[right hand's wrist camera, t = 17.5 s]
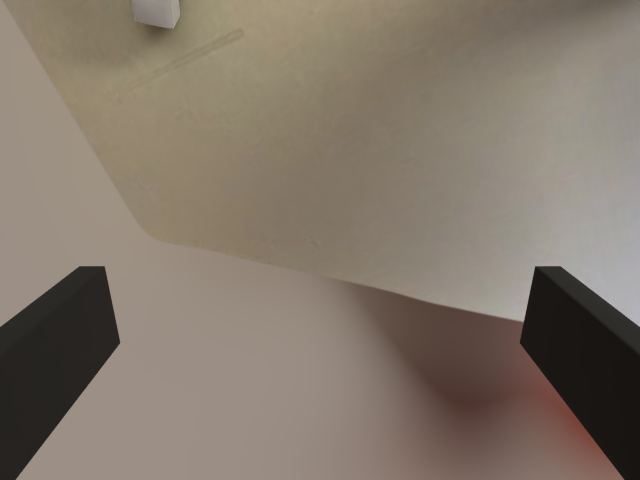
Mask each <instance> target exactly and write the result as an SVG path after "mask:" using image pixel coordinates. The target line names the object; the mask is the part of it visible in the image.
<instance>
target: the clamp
mask: <svg viewBox="0 0 640 480" xmlns="http://www.w3.org/2000/svg"><path fill="white" fill-rule="evenodd" d="M131 5H132V10H133V16H134V21H135V22H139V23H144V24H149V25H154V26H159V27H164V28H169V29H172V28H174V27H175V25H176V23H177V21H178V20H179V18H180V7H179V0H131Z"/></svg>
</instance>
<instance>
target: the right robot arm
mask: <svg viewBox="0 0 640 480" xmlns="http://www.w3.org/2000/svg"><path fill="white" fill-rule="evenodd" d="M119 344H120V339H119V334H118V329H117V325H116V320H115V315H114V310H113V305H112V300H111V295H110V290H109V286H108V281H107V276H106V271H105V267H104V266H80V267H78V268H77V269H76V270H74V271H73V272H72V273H70V274H69V275H68V276H66V277H65V278H64V279H62V280H61V281H60V282H59V283H57V284H56V285H55V286H53V287H52V288H51V289H49V290H48V291H47V292H45V293H44V294H43V295H42V296H40V297H39V298H38V299H36V300H35V301H34V302H32V303H31V304H30V305H29V306H27V307H26V308H25V309H23V310H22V311H21V312H20V313H18V314H17V315H15V316H14V317H13V318H12V319H10V320H9V321H8V322H6V323H5V324H4V325H3V326H1V327H0V480H16V478H17V477H18V476H19V474H20V473H21V472H22V471H23V469H24V468H25V467H26V465H27V464H28V463H29V461H30V460H31V459H32V457H33V456H34V455H35V454H36V452H37V451H38V450H39V448H40V447H41V446H42V444H43V443H44V442H45V440H46V439H47V438H48V437H49V435H50V434H51V433H52V431H53V430H54V429H55V427H56V426H57V425H58V424H59V422H60V421H61V420H62V418H63V417H64V416H65V414H66V413H67V412H68V410H69V409H70V408H71V407H72V405H73V404H74V403H75V401H76V400H77V399H78V397H79V396H80V395H81V393H82V392H83V391H84V390H85V388H86V387H87V386H88V384H89V383H90V382H91V380H92V379H93V378H94V377H95V375H96V374H97V373H98V371H99V370H100V369H101V367H102V366H103V365H104V363H105V362H106V361H107V360H108V358H109V357H110V356H111V354H112V353H113V352H114V350H115V349H116V348H117V346H118V345H119ZM520 344H521V345H522V346H523V348H524V349H525V350H526V352H527V353H528V354H529V356H530V357H531V358H532V360H533V361H534V362H535V363H536V365H537V366H538V367H539V369H540V370H541V371H542V373H543V374H544V375H545V377H546V378H547V379H548V380H549V382H550V383H551V384H552V386H553V387H554V388H555V390H556V391H557V392H558V393H559V395H560V396H561V397H562V399H563V400H564V401H565V403H566V404H567V405H568V406H569V408H570V409H571V410H572V412H573V413H574V414H575V416H576V417H577V418H578V420H579V421H580V422H581V424H582V425H583V426H584V427H585V429H586V430H587V431H588V433H589V434H590V435H591V437H592V438H593V439H594V440H595V442H596V443H597V444H598V446H599V447H600V448H601V450H602V451H603V452H604V454H605V455H606V456H607V457H608V459H609V460H610V461H611V463H612V464H613V465H614V467H615V468H616V469H617V471H618V472H619V473H620V474H621V476H622V477H623V478H624V480H640V327H639V326H638V325H636V324H635V323H634V322H632V321H631V320H630V319H628V318H627V317H626V316H625V315H623V314H622V313H621V312H619V311H618V310H617V309H615V308H614V307H613V306H611V305H610V304H609V303H608V302H606V301H605V300H604V299H602V298H601V297H600V296H598V295H597V294H596V293H595V292H593V291H592V290H591V289H589V288H588V287H587V286H585V285H584V284H583V283H581V282H580V281H579V280H578V279H576V278H575V277H574V276H572V275H571V274H570V273H568V272H567V271H566V270H565V269H563V268H562V267H561V266H535V271H534V276H533V280H532V285H531V290H530V295H529V300H528V305H527V310H526V315H525V320H524V325H523V329H522V334H521V339H520Z"/></svg>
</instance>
